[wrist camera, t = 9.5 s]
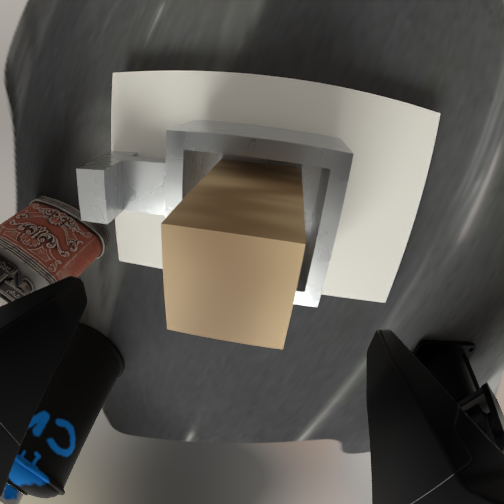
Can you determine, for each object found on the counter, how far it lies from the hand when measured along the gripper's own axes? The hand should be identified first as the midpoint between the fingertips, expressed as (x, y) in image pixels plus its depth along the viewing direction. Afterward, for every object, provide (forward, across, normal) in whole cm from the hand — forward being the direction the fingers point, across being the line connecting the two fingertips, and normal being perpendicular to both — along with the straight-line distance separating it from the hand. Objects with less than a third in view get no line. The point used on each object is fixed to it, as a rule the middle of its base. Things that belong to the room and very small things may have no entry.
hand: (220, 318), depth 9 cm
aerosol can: (+13, +16, +20) cm, 28 cm away
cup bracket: (+11, +3, 0) cm, 11 cm away
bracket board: (+12, 0, 0) cm, 12 cm away
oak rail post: (+9, 0, 0) cm, 9 cm away
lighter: (+13, +15, +5) cm, 20 cm away
